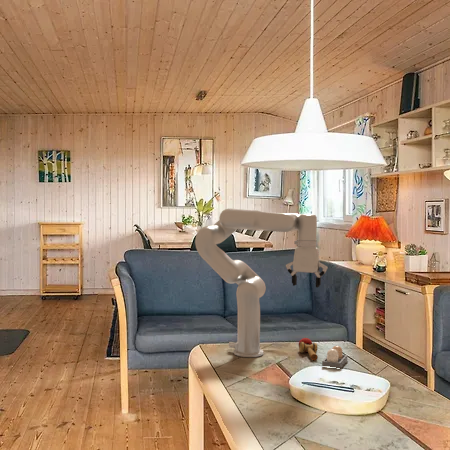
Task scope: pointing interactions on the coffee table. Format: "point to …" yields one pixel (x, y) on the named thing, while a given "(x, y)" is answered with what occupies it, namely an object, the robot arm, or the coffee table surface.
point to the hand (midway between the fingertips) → (306, 286)
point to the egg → (332, 355)
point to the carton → (341, 359)
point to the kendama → (308, 348)
